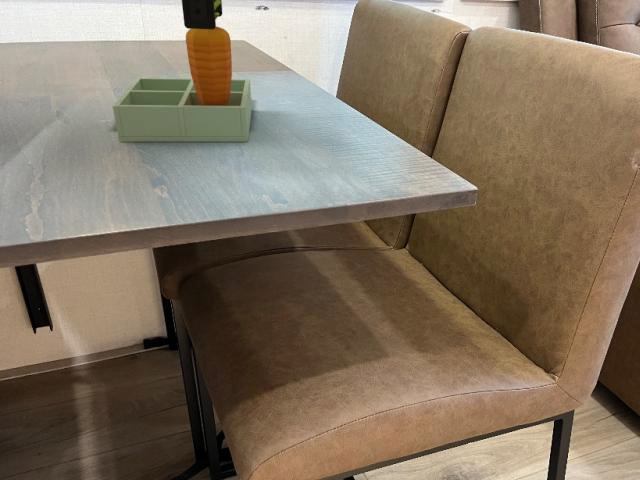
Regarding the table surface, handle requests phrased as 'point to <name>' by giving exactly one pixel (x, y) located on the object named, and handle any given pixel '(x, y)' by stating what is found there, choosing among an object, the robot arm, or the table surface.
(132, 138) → the grid
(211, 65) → the carrot
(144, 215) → the table surface
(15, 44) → the table surface
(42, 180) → the table surface
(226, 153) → the table surface
